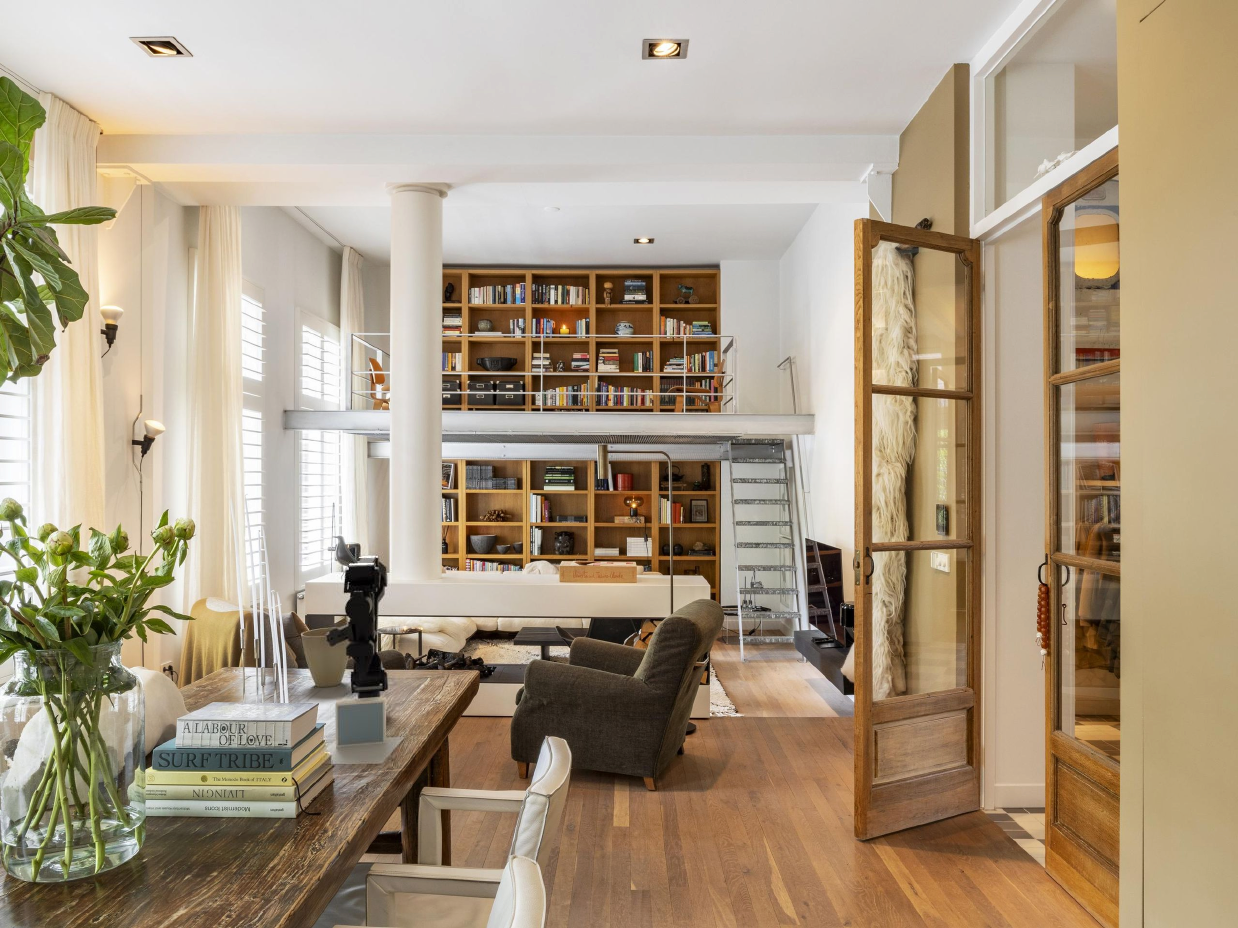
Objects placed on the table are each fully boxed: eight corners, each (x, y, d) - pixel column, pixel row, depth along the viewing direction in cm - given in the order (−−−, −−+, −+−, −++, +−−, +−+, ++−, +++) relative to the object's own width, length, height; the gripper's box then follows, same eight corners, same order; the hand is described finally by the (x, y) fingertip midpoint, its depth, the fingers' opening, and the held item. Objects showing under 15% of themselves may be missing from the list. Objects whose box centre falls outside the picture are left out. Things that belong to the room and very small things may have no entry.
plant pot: (342, 675, 261) (342, 625, 261) (361, 684, 249) (360, 631, 250) (294, 683, 251) (294, 631, 252) (311, 693, 240) (310, 638, 240)
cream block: (337, 742, 192) (336, 699, 193) (386, 738, 195) (385, 696, 195) (335, 747, 189) (335, 703, 189) (385, 743, 192) (384, 700, 192)
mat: (337, 739, 196) (337, 737, 196) (404, 738, 196) (404, 736, 196) (308, 765, 178) (308, 764, 178) (382, 764, 178) (382, 763, 178)
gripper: (332, 609, 211) (332, 671, 211) (323, 621, 193) (323, 688, 192) (377, 607, 213) (378, 668, 213) (372, 619, 195) (373, 685, 195)
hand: (362, 677), depth 203 cm, fingers open, 5 cm apart
